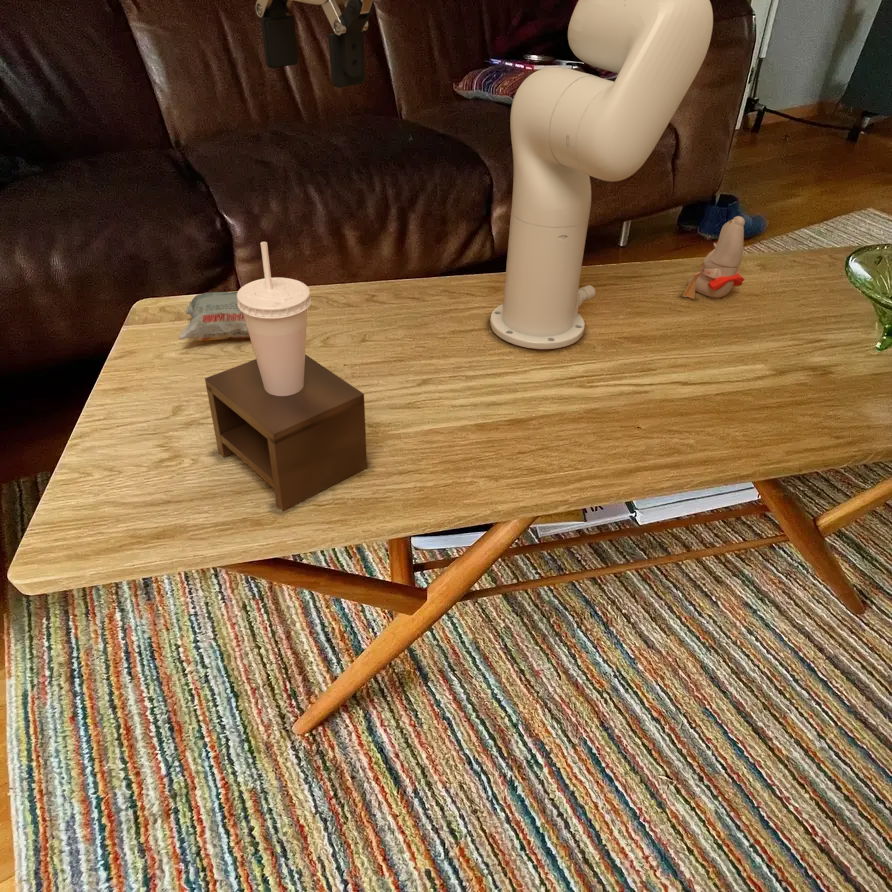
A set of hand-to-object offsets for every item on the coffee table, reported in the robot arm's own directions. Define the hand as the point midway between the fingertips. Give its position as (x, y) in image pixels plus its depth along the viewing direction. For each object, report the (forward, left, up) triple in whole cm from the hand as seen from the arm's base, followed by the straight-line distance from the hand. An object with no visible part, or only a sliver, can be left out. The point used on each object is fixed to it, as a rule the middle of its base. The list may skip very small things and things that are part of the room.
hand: (314, 75), depth 67 cm
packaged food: (+2, -20, -34) cm, 39 cm away
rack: (+11, +7, -34) cm, 36 cm away
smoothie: (+11, +7, -25) cm, 28 cm away
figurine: (-58, +13, -34) cm, 69 cm away
